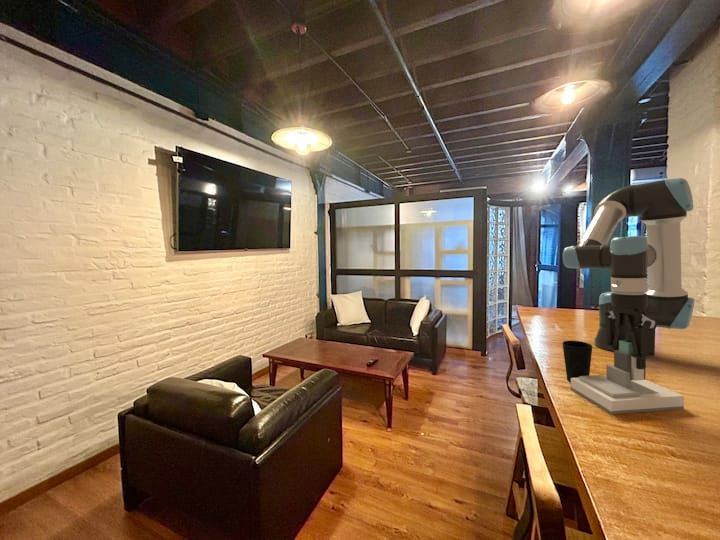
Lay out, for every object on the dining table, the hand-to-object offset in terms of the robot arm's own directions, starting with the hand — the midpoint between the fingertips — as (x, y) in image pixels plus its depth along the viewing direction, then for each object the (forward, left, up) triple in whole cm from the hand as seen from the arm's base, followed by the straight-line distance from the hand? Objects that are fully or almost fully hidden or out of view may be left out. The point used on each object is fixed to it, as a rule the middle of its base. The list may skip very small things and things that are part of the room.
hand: (629, 376), depth 82 cm
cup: (+5, -12, -7) cm, 15 cm away
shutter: (+6, 0, -3) cm, 7 cm away
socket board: (+2, 0, -6) cm, 7 cm away
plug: (0, 0, 0) cm, 0 cm away
